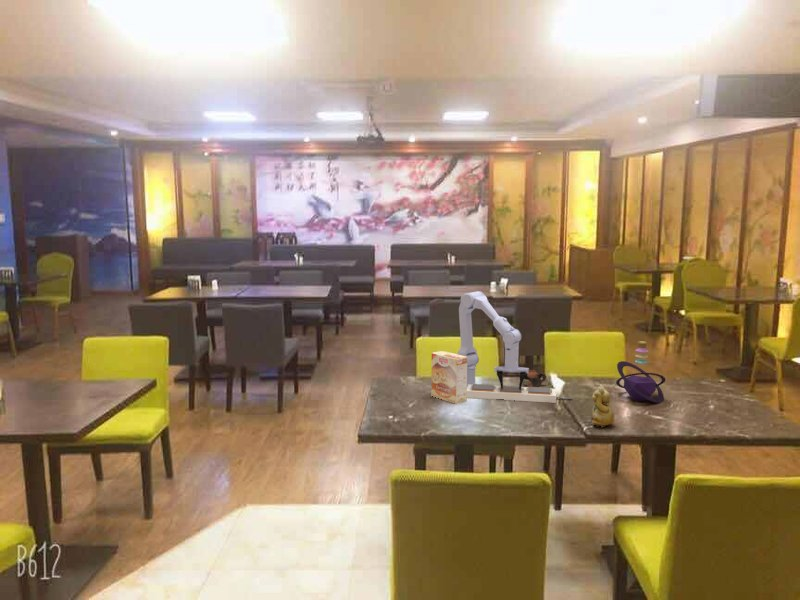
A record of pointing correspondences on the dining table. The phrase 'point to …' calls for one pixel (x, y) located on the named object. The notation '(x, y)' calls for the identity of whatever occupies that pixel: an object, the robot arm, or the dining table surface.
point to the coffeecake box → (449, 377)
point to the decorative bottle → (640, 379)
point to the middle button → (511, 389)
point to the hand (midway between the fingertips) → (511, 388)
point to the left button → (483, 387)
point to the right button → (539, 390)
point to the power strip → (513, 395)
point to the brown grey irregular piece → (534, 378)
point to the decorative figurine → (602, 408)
